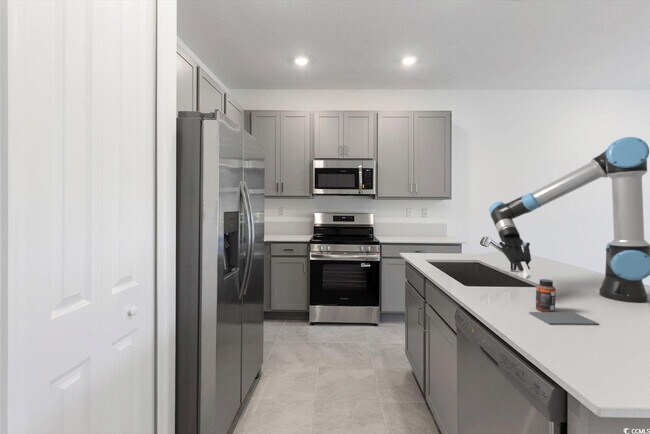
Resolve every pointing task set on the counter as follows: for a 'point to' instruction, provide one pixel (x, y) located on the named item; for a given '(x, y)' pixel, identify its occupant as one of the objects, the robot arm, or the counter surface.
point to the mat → (563, 318)
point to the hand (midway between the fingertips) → (528, 277)
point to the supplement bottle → (545, 296)
